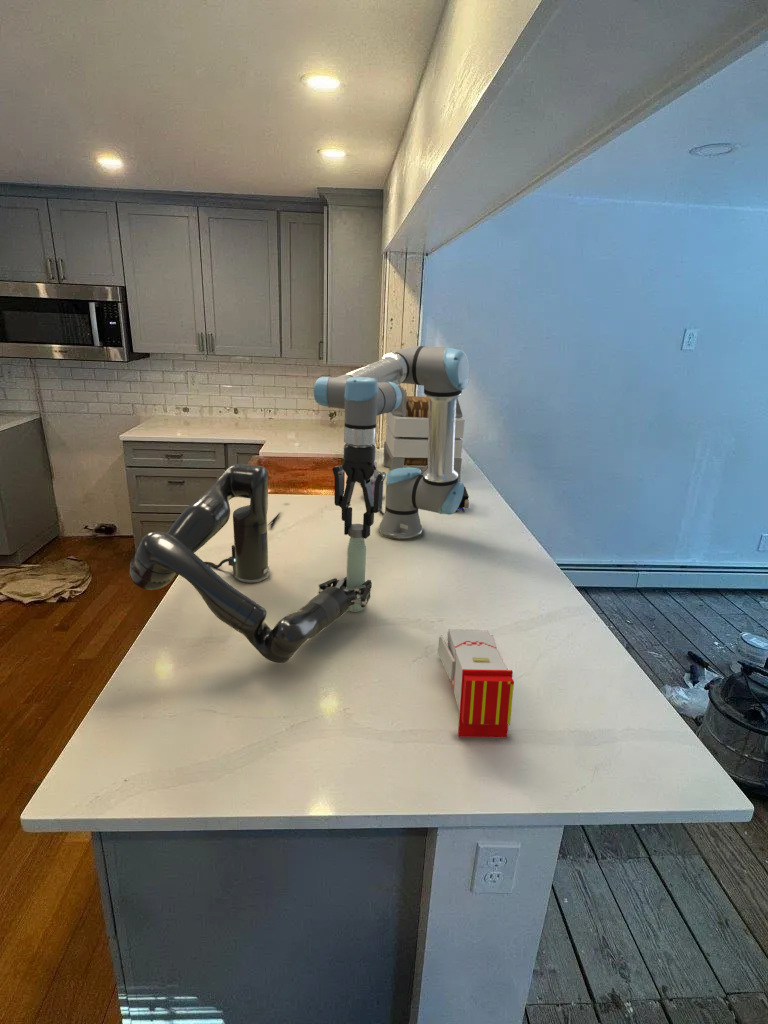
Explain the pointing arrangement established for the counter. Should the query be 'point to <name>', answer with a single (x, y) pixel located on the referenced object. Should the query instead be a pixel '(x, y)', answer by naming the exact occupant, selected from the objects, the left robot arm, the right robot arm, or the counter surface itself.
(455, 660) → the toy
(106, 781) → the counter surface
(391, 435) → the grey slatted crate
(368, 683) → the counter surface
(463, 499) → the figurine character
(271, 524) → the feather
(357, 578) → the bottle
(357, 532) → the cap
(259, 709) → the counter surface
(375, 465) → the figurine
